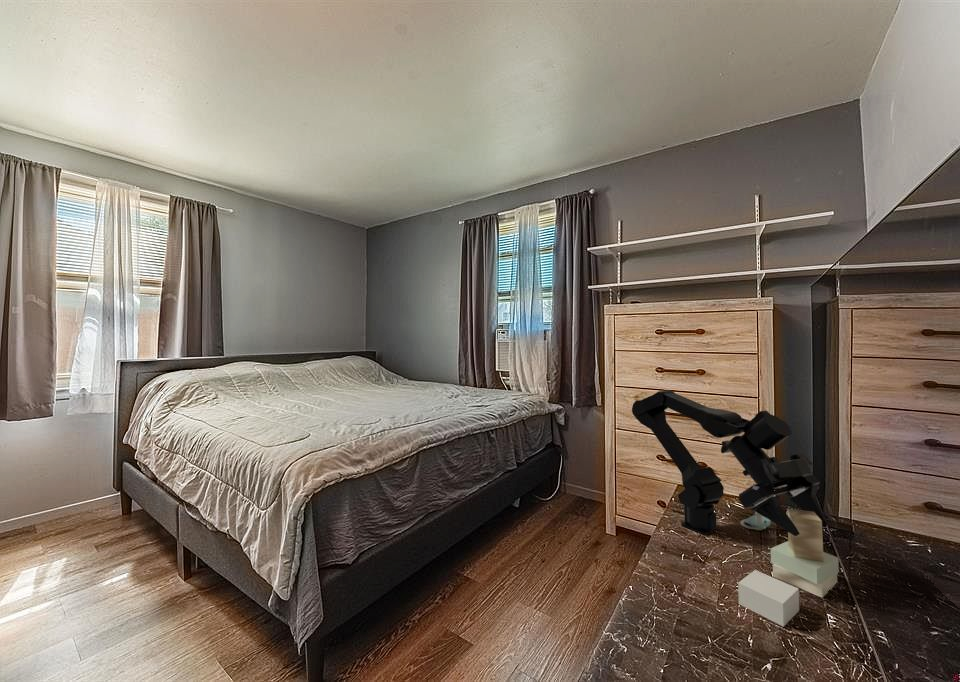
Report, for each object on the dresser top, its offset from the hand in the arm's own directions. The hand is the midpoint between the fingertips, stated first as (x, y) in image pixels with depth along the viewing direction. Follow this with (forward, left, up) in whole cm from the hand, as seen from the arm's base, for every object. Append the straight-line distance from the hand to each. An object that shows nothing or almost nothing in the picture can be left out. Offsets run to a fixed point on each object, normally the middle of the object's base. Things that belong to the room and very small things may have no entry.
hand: (812, 530), depth 77 cm
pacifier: (-17, +17, -11) cm, 27 cm away
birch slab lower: (-2, 0, -11) cm, 12 cm away
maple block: (-1, 0, -5) cm, 5 cm away
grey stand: (-2, -15, -11) cm, 18 cm away
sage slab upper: (-2, 0, -8) cm, 9 cm away
